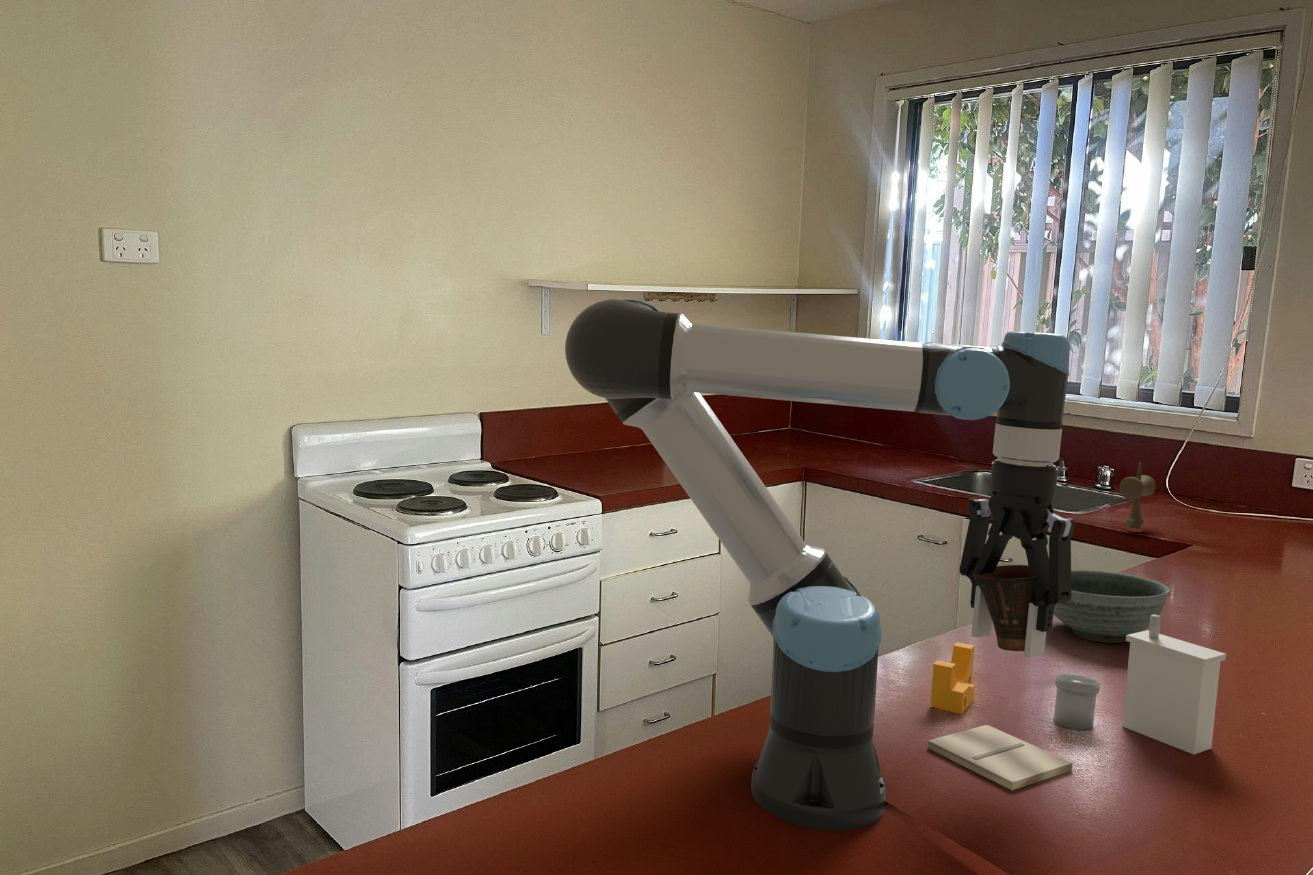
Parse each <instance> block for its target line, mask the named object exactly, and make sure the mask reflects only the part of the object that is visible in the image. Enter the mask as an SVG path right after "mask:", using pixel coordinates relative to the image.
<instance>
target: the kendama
mask: <svg viewBox="0 0 1313 875" xmlns="http://www.w3.org/2000/svg"><path fill="white" fill-rule="evenodd" d="M1136 472H1137V473H1136V477H1135V476H1126V477H1124V478H1123V479H1122V480H1121V481H1120V483H1119V493H1120V495H1121V496H1122V497H1123V499H1125V500H1129V501H1132V505H1131V509H1130V511H1129V512H1130V513H1129V515H1128V517H1127V518H1126V519H1125V522H1126V528H1127V527H1129V528H1136V529H1140V528H1142V529H1143V525H1144V524H1145V520H1143V517H1142V509H1141V508H1142V507H1141V497H1148V496H1150V495H1153V494H1154V492H1155V490H1156V482H1155V479H1154V478H1153V477H1151V476H1150V475H1145V474H1142V463H1141V462H1139V463H1138V467H1137V471H1136Z"/></svg>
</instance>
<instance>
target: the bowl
mask: <svg viewBox="0 0 1313 875" xmlns="http://www.w3.org/2000/svg"><path fill="white" fill-rule="evenodd" d="M1170 593H1171V590H1170V588H1169V587H1168V586H1167V585H1166V584H1164V583H1161V582H1160V581H1157V580H1153V579H1151V578H1146V577H1142V576H1138V575H1133V574H1128V573H1123V572H1114V571H1107V570H1105V571H1104V570H1095V569H1094V570H1092V569H1071V600H1070V601H1069V602H1064V603H1058V604H1056V605H1055V606H1054V613H1053V616H1055V617H1056V618H1057V619H1058V620H1059V621H1060V622H1062V624H1064V625H1066V626H1067V627H1069V628H1071V630H1072V633H1073V634H1074V635H1076V636H1077V637H1080V638H1082V639H1085V640H1089V641H1092V642H1097V643H1098V642H1101V643H1123V642H1127V641H1126V635H1129V634H1133V633H1138V632H1142V631H1146V630H1147V629H1148V628H1150V618H1151V615H1159V616H1160V615H1161V613H1162V612H1163V610H1164V607H1165V605H1166V601H1167V598H1168V597H1169V596H1170Z"/></svg>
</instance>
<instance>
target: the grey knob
mask: <svg viewBox="0 0 1313 875" xmlns="http://www.w3.org/2000/svg"><path fill="white" fill-rule="evenodd" d="M1054 686H1055V687H1056V694H1055V704H1054V711H1053V712H1054V713H1053V714H1054V715H1053V721H1054V722H1055V723H1056V724H1058V725H1059V726H1061V727H1065V728H1067V729H1071V730H1077V731H1078V730H1079V731H1088V730H1089V731H1090V730H1091V729H1093V728H1094V722H1095V711H1096V703H1097V695H1098V694H1099V693H1100V687H1101V683H1100V681H1098V680H1097V679H1095V678H1093V677H1090V676H1087V675H1083V674H1078V673H1071V672H1069V673H1068V672H1064V673H1058V674H1056V675H1055V679H1054Z"/></svg>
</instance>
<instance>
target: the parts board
mask: <svg viewBox="0 0 1313 875" xmlns="http://www.w3.org/2000/svg"><path fill="white" fill-rule="evenodd" d="M927 749H929V750H931V751H933V752H934V753H936V754H938V755H941V756H942V757H944V758H946V759H949V760H950V761H952V762H954V763H957V764H958V765H960V766H963V767H965V768H967V769H969V770H970V771H972V772H974V773H976V774H978V775H980V776H982V777H985V778H986V779H989V780H990V781H992V782H994V783H997V784H999V785H1000V786H1002V787H1004V788H1006V789H1008V790H1010V791H1014V790H1018V789H1021V788H1024V787H1026V786H1030V785H1032V784H1036V783H1038V782H1039V783H1040V782H1042V781H1046V780H1048V779H1051V778H1054V777H1057V776H1059V775H1063V774H1067V773H1069V772H1072V770H1073V762H1071V761H1069V760H1067V759H1064V758H1062V757H1060V756H1058V755H1055V754H1054V753H1051V752H1049V751H1047V750H1045V749H1042V748H1040V747H1038V746H1036V745H1033V744H1031V743H1028V742H1027V741H1025V740H1023V739H1020V738H1019V737H1018V738H1017V737H1015V736H1013V735H1010V734H1009V733H1006V732H1005V731H1002V730H1000V729H997V728H996V727H993V726H991V725H989V724H984V725H981V726H977V727H974V728H973V727H972V728H970V729H966V730H962V731H958V732H955V733H951V734H948V735H943V736H940V737H937V738H933V739H932V738H931V739H930V740H928V741H927Z"/></svg>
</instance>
